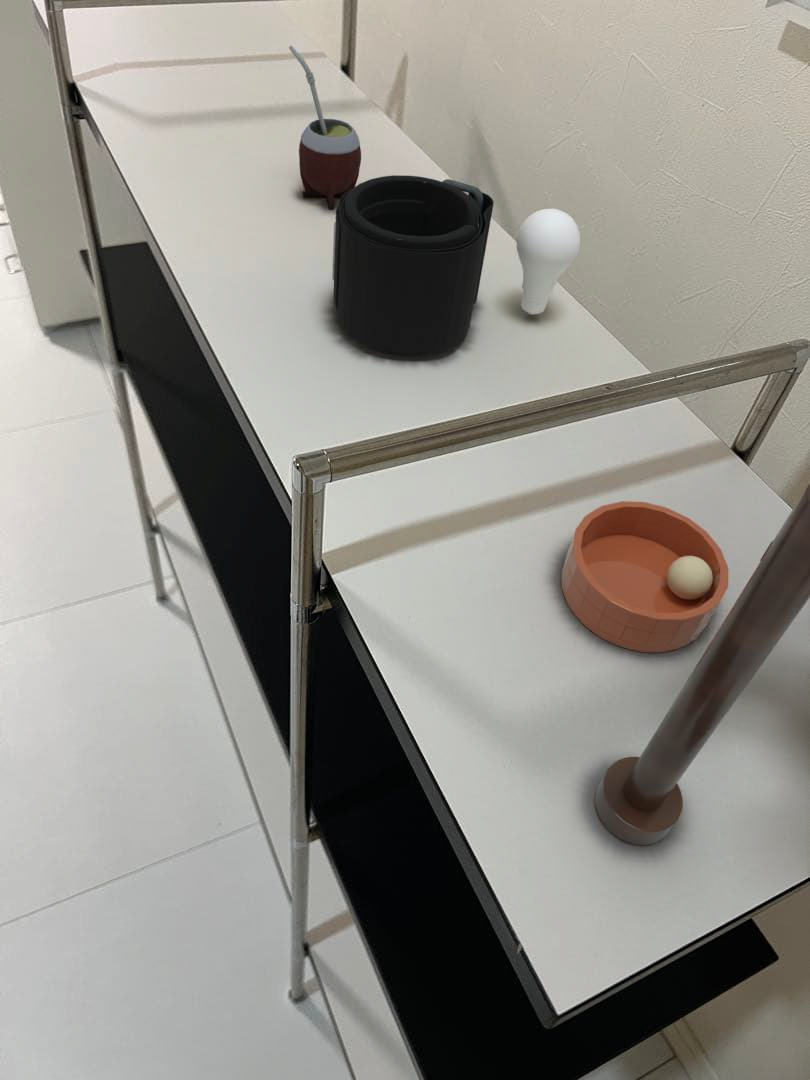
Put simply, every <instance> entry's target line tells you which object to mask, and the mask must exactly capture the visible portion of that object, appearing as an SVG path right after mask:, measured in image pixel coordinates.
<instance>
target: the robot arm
mask: <svg viewBox="0 0 810 1080" xmlns="http://www.w3.org/2000/svg"><path fill="white" fill-rule="evenodd" d="M773 541H774V539H773V540H772V541H771V542H770V543H769V545H768V546H767V548H766V550H765V551H764V553H763V555H762V556H761V558H760V559H759V561H760V562H761V560H762V559H763V557H764V555H765V554H766V552H767V551H768V549H769V547H770V546H771V544H772V542H773Z"/></svg>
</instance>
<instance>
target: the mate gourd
mask: <svg viewBox="0 0 810 1080" xmlns="http://www.w3.org/2000/svg"><path fill="white" fill-rule="evenodd" d="M288 49H289V50H290V52H291V53H292V54H293V56H294V57H295V58H296V60H297V61H298V62H299V64H300V65H301V67H302V69H303V70H304V72H305V78H306V82H307V84H309V87H310V88H309V89H310V92H311V95H312V100H313V102H314V107H315V111H316V114H317V118H318V119H315V120H313V121H311V122H309V124H307V126H306V127H305V129H304V130H303V131H302V134H301V136H300V140H299V145H298V158H299V159H298V160H299V163H298V164H299V166H298V167H299V175H300V180H301V182H302V185H303V189H304V190H302V191H301V193H302V199H324V200H325V201H326V207H327V210H333V211H334V210H335V208H336V206H335V205H336V204H335V200H337V199H339V200H340V198H341V197H342V195H343V194H344V193H346V192H347V191H349V190H350V189H351V188H354V187H356V186H357V182H358V180H359V175H360V168H361V162H362V149H361V142H360V138H359V136H358V133H357V131H356V130H355V128H354V126H352V125H351V124H349V122H346V121H344V120H340V119H334V118H324V116H323V115H324V114H323V112H322V108H321V104H320V100H319V96H318V92H317V87H316V83H315V82H316V79H315V76H314V73H313V71H311V69H310V67H309V65H308V64H307V62H306V61H305V59H304V58H303V57H302V56H301V55H300V53H299V52H298V51H297V50H296V49H295V48H294V46H293V45H289V47H288Z"/></svg>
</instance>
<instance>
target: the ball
mask: <svg viewBox="0 0 810 1080" xmlns="http://www.w3.org/2000/svg"><path fill="white" fill-rule="evenodd" d="M712 581H713V575H712V571H711V569H710V567H709V565H708V564H707V563H706V562H705V561H704V560H702V559H700V558H698V557H695V556H684V557H681V558H679V559H677V560H675V561H674V562H673V563H672V564H671V566H670V567H669V569H668V572H667V583H668V586H669V588H670V589H671V591H672V592H673V593H674V594H675V595H677V596H678V597H680V598H683V599H690V600H691V599H697V598H700V597H702V596H703V595H705V594H706V593H707V592H708V591H709V589H710V587H711V585H712Z"/></svg>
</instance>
